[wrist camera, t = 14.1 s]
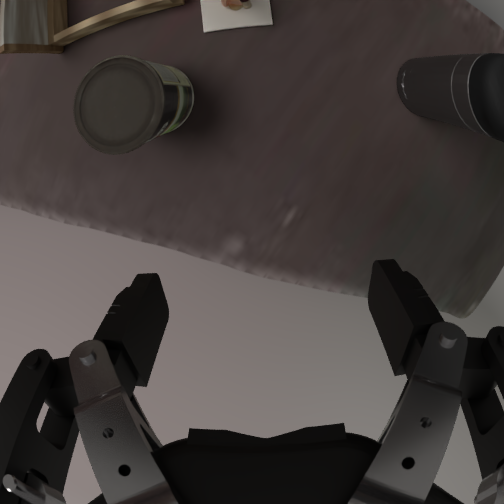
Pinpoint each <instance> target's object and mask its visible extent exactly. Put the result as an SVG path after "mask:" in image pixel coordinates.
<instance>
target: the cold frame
mask: <svg viewBox="0 0 504 504" xmlns="http://www.w3.org/2000/svg"><path fill="white" fill-rule="evenodd" d="M184 4H185V2H184V0H137V1H134V2H131V3H128V4H125V5H122V6H119V7H116V8H114V9H111V10H108V11H106V12H103V13H101V14H98V15H96V16H94V17H91V18H89V19H87V20H84V21H82V22H80V23H78V24H76V25H74V26H72V27H69V28H68V23H67V0H1V12H0V54H4V53H53V54H60V53H62V52H64V48H63V46H65V45H67V44H69V43H71V42H73V41H76V40H78V39H80V38H82V37H85V36H87V35H89V34H92V33H94V32H96V31H99V30H101V29H104V28H107V27H109V26H112V25H115V24H117V23H120V22H123V21H126V20H129V19H132V18H135V17H138V16H142V15H145V14H148V13H152V12H156V11H159V10H163V9H167V8H171V7H175V6H180V5H184Z"/></svg>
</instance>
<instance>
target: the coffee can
mask: <svg viewBox="0 0 504 504" xmlns="http://www.w3.org/2000/svg"><path fill="white" fill-rule="evenodd" d="M193 103H194V91H193V87H192V84H191V82H190V80H189V79H188V77H187V76H186V75H185V74H184V73H183V72H181V71H180V70H178V69H176V68H174V67H171V66H166V65H161V64H157V63H153V62H149V61H145V60H142V59H139V58H137V57H133V56H126V55H120V56H114V57H110V58H107V59H105V60H103V61H101V62H99V63H98V64H96V65H95V66H94V67H92V68H91V69H90V70H89V71H88V72H87V74H86V75H85V76H84V78H83V79H82V81H81V83H80V85H79V87H78V89H77V92H76V95H75V100H74V119H75V123H76V126H77V129H78V131H79V133H80V135H81V136H82V138H83V139H84V140H85V142H86V143H87V144H89V145H90V146H91V147H92V148H94V149H96V150H98V151H100V152H103V153H107V154H113V155H117V154H124V153H128V152H130V151H133V150H135V149H137V148H139V147H140V146H142V145H143V144H144V143H146V142H148V141H150V140H152V139H154V138H156V137H158V136H160V135H163V134H165V133H168V132H171V131H173V130H175V129H176V128H178V127H179V126H180V125H182V124H183V123H184V122H185V120H186V119H187V118H188V116H189V114H190V113H191V110H192V107H193Z"/></svg>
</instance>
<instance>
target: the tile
mask: <svg viewBox="0 0 504 504" xmlns="http://www.w3.org/2000/svg"><path fill="white" fill-rule="evenodd" d="M200 1H201V10H202V19H203V28H204V33H208V32H214V31H220V30H228V29H235V28H244V27H255V26H267V25H273V23H272V15H271V8H270V0H250V2H251V4H252V7H251V8H250V9H245V8H244V7H242V8H241V9H239V10H236V11H234V10H231V9H230V8H229V6H227V7H224V6H223V5H222V3H221V0H200Z"/></svg>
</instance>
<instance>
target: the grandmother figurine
mask: <svg viewBox="0 0 504 504" xmlns="http://www.w3.org/2000/svg"><path fill="white" fill-rule="evenodd" d="M221 3H222V5H223V6H224V7H227V6H229V8H230V9H231V10H234V11H236V10H239V9H241V8H242V7H244V8H245V9H250V8H251V7H252V4H251V2H250V0H221Z"/></svg>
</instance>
